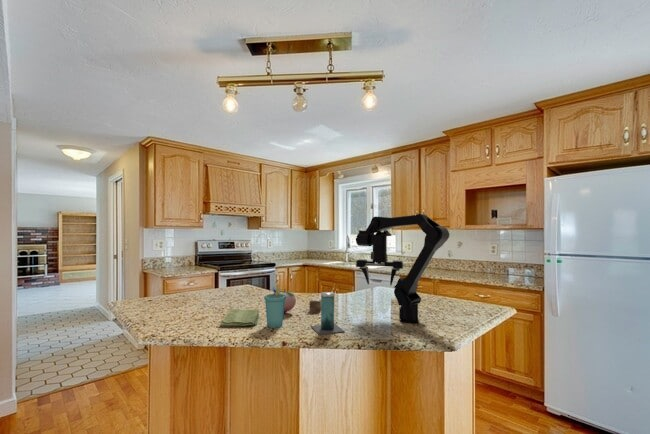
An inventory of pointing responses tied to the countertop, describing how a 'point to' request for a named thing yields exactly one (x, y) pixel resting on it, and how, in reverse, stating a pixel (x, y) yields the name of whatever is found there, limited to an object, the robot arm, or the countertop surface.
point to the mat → (323, 332)
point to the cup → (275, 307)
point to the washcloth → (240, 318)
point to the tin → (327, 310)
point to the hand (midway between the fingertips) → (379, 284)
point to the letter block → (315, 305)
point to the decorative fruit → (288, 300)
